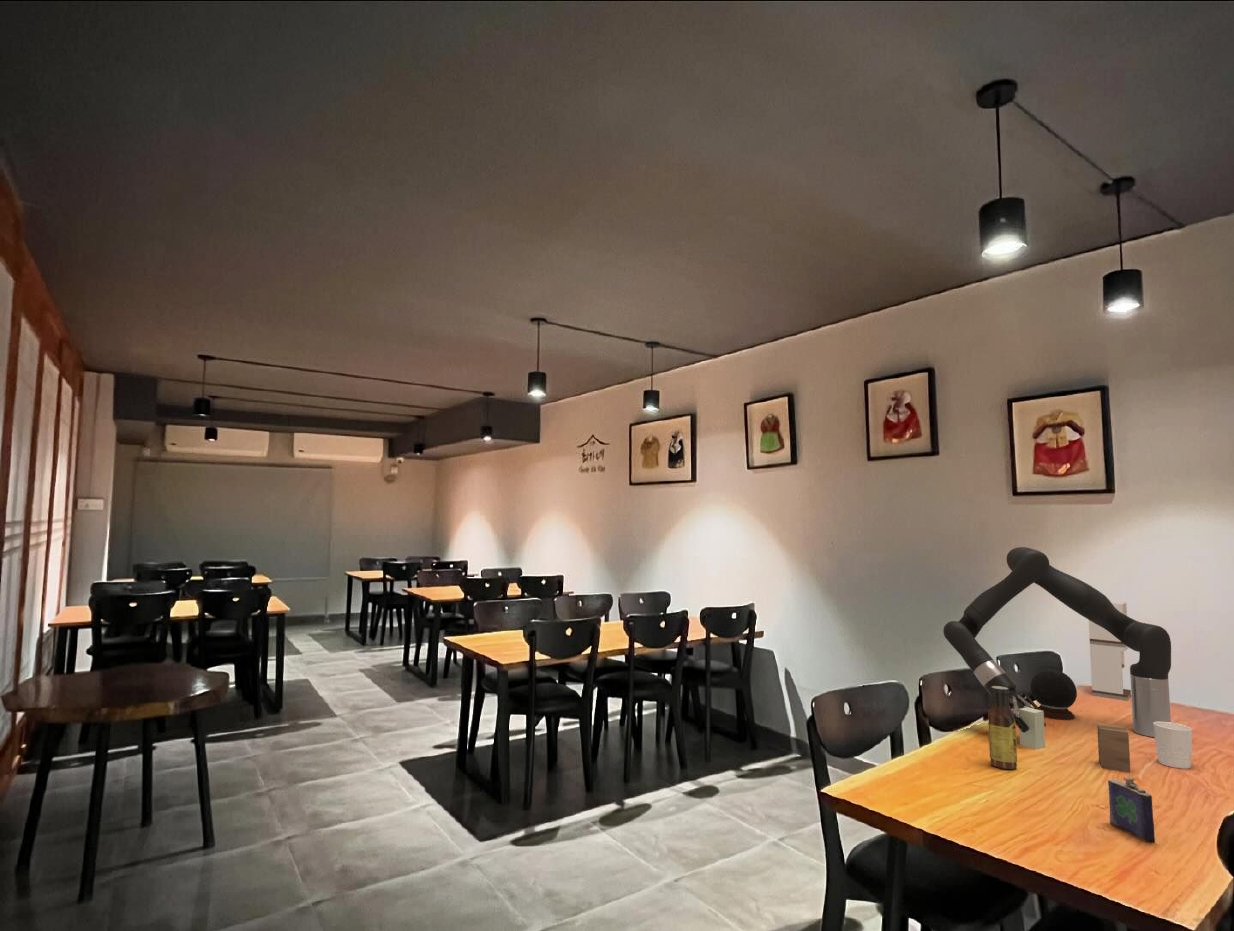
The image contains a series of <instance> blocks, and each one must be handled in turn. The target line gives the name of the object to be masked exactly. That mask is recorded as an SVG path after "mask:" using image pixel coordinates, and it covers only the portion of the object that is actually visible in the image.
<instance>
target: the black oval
mask: <svg viewBox="0 0 1234 931" xmlns="http://www.w3.org/2000/svg"><path fill="white" fill-rule="evenodd" d="M1030 680H1031V681H1030V686H1029V688H1030V693H1031V695H1032V696H1033V698H1034V700H1035V701H1036V702H1037V703H1038V704H1039V706H1037V707H1038V708H1039V709H1040V710H1041V711H1044V718H1047V719H1051V720H1061V721H1071V720H1074V719H1075V715H1074V714H1073V712H1072V711H1071V710H1069V709H1068V708H1071V707H1072V706H1073V705H1074V703H1075V702H1076V700H1077V696H1078V691H1077V687H1076V685H1075V683H1074V681H1073V679H1072V678H1071V677H1070V676H1068V675H1067V674H1066V673H1064V672H1062V671H1060V670H1058V669H1055V668H1053V669H1052V668H1047V669H1042V670H1038V672H1036V673H1035V674H1034V675H1033V677H1032V678H1031V679H1030Z"/></svg>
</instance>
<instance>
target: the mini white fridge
mask: <svg viewBox="0 0 1234 931" xmlns="http://www.w3.org/2000/svg"><path fill="white" fill-rule="evenodd" d="M1111 603H1112V604H1113V606H1114V607H1115V608H1116V609H1117V610H1118V611H1119V612H1121V613H1123V614H1124V615H1126V616H1128V614H1127V613H1128V610H1127V602H1126V601H1123V602H1121V603H1117V602H1116V603H1115V602H1114V603H1113V602H1111ZM1088 630H1089V631H1088V632H1089V634H1088V638H1089V653H1090V654H1089V657H1090V678H1091V695H1092V696H1093V697H1100V698H1107V699H1114V700H1121V701H1125V702H1126V701H1129V699H1130V698H1131V689H1128V688H1127V689H1126V688H1124V679H1123V669H1124V668H1125V666H1126V665H1125V652H1126V651H1127V650H1128V649H1130V648H1129V647H1127V646H1126V645H1125V644H1123V643H1122V642H1121V641H1120V640H1118V639H1117V638H1116V637H1115V636H1113V635H1112V634H1111V633H1110V632H1108V631H1107V630H1106V629H1104V628H1102V627H1101V626H1099V625H1097V624H1095V623H1093V622H1092V621H1090V620H1088Z"/></svg>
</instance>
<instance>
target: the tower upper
mask: <svg viewBox="0 0 1234 931" xmlns="http://www.w3.org/2000/svg"><path fill="white" fill-rule="evenodd" d="M1096 727H1097V731H1096V732H1097V744H1098V743H1099V746H1100V748H1102V749H1108V750H1115V751H1121V752H1128V753H1130V737H1129V735H1130V734H1129V731H1128V729H1127V728H1126V726H1121V725H1115V724H1114V725H1113V724H1107V723H1099V722H1097V723H1096Z"/></svg>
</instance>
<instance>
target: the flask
mask: <svg viewBox="0 0 1234 931" xmlns="http://www.w3.org/2000/svg"><path fill="white" fill-rule="evenodd" d="M1136 780H1137V779H1136V778H1133V777H1127V778H1126V777H1124V778H1123V781H1125V782H1123V781H1121V780H1117V779H1114V778H1113V779H1111V778H1110V779H1108V780H1107V781H1108V782H1107V785H1108V798H1109V799H1108V800H1109V823H1110V824H1111V825H1112V826H1113V827H1114V828H1118V829H1120V830H1122V831H1123V832H1125V833H1126V834H1131V835H1132V836H1133V837H1136V838H1137V839H1139V840H1142V841H1143V842H1146V843H1149V844H1155V843H1156V839H1155V838H1156V837H1155V824H1154V810H1153V796H1152V794H1150V793H1149V792H1148V791H1146V790H1145V789H1144V788H1139V785H1138V784H1137V783H1135V782H1134V781H1136Z"/></svg>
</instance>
